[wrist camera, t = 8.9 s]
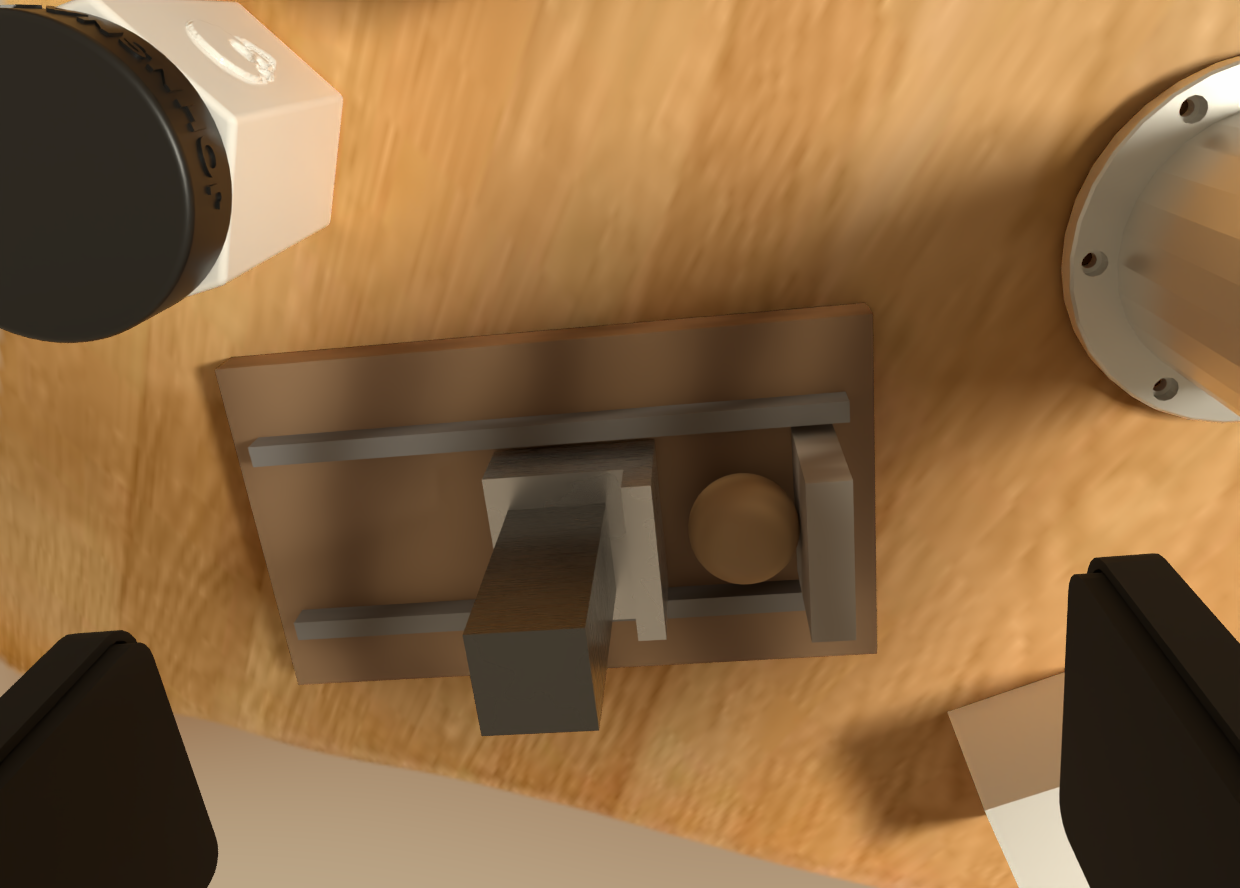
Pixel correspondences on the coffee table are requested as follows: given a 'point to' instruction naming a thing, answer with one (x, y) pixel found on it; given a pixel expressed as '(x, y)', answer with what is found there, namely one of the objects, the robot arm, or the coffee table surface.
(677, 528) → the board
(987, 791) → the white cube
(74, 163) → the jar
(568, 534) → the handle
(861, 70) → the coffee table surface
